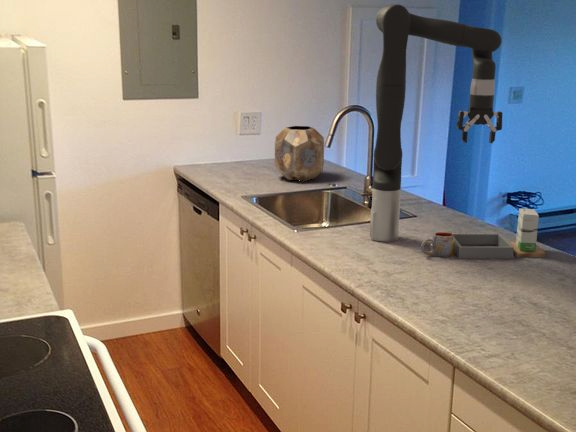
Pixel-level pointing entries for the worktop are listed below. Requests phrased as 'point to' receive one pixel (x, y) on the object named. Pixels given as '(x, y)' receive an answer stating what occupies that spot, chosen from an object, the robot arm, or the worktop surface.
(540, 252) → the tan flat slab
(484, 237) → the parts bin
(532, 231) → the ink box
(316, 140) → the planter
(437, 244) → the mug
